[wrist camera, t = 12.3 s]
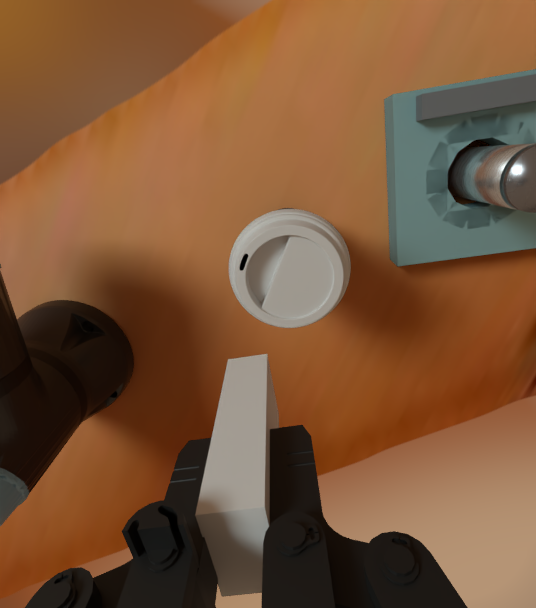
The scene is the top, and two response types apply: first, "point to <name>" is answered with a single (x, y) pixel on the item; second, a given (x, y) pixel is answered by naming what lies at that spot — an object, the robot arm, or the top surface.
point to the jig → (437, 159)
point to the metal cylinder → (496, 175)
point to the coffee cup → (289, 268)
